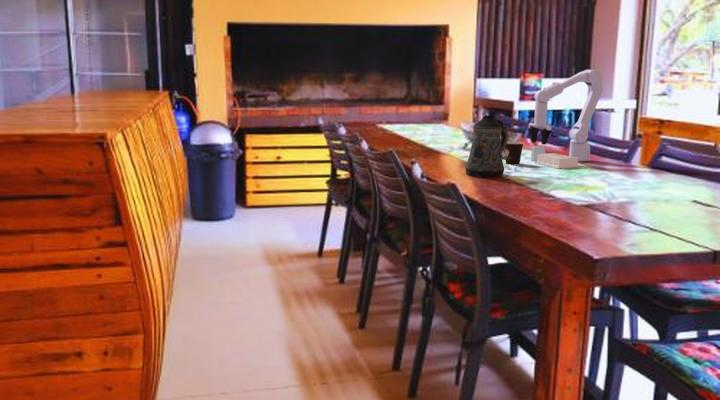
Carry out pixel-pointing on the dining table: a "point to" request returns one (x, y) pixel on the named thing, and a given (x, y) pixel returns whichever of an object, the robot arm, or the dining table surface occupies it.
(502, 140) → the beer stein
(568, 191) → the dining table surface
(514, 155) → the coffee mug
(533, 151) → the plate tile
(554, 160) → the dish rack
